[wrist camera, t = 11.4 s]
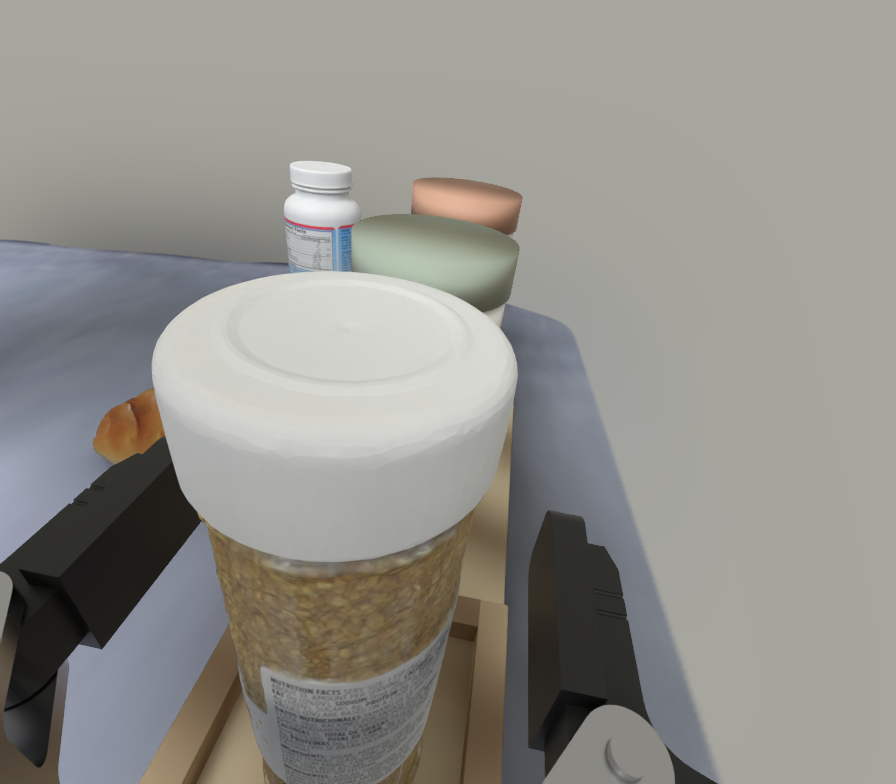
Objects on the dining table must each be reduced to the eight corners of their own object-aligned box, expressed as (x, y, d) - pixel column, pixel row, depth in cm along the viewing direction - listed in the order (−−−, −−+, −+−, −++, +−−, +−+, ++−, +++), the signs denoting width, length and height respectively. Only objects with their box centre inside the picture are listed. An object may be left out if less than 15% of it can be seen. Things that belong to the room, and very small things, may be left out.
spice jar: (283, 659, 15) (223, 248, 7) (422, 658, 15) (495, 275, 8) (241, 857, 11) (31, 418, 4) (426, 844, 12) (573, 445, 4)
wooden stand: (474, 1039, 10) (849, 968, 2) (93, 938, 11) (-563, 623, 3) (511, 397, 32) (560, 188, 24) (385, 374, 32) (395, 162, 25)
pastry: (106, 509, 20) (78, 445, 18) (99, 425, 25) (76, 366, 23) (311, 448, 25) (307, 392, 23) (274, 387, 30) (268, 335, 28)
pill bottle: (342, 286, 44) (341, 159, 38) (372, 310, 41) (375, 174, 34) (281, 294, 41) (268, 157, 35) (307, 322, 37) (297, 173, 31)
